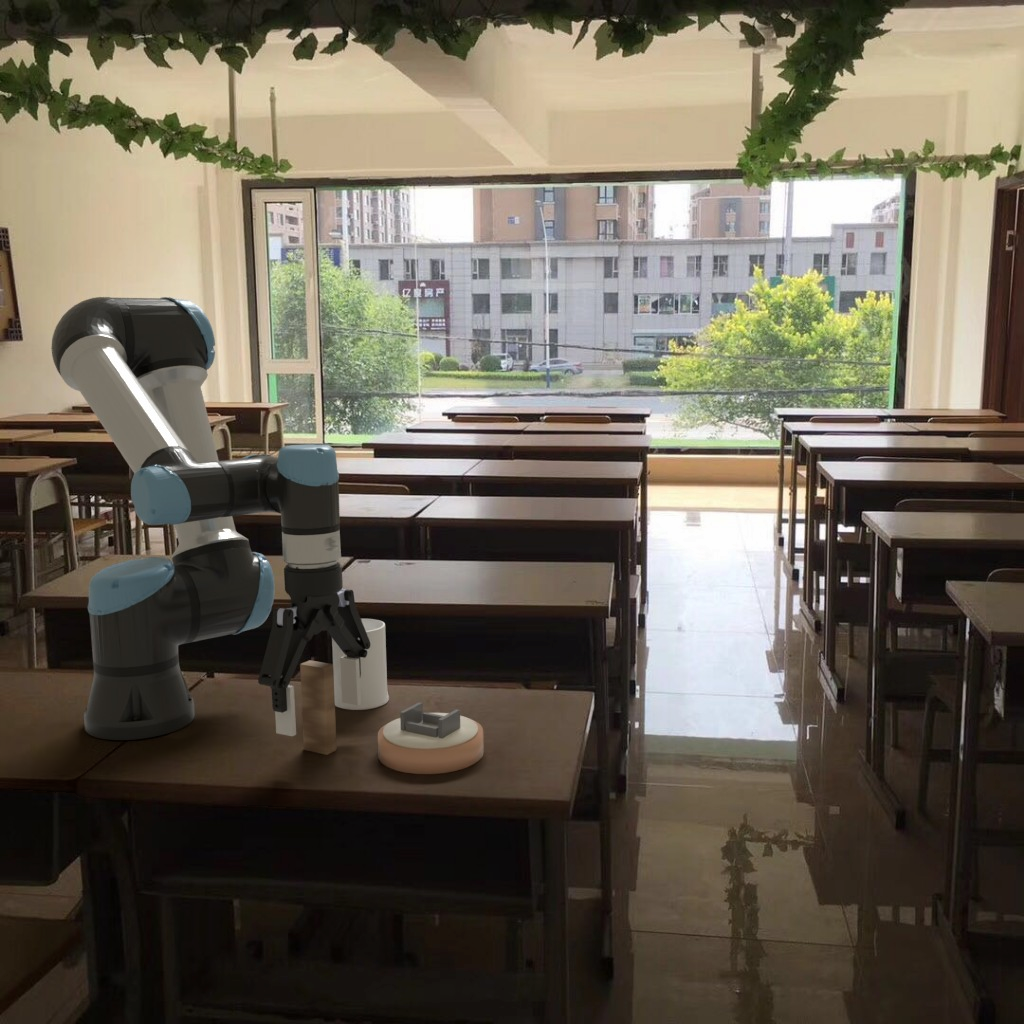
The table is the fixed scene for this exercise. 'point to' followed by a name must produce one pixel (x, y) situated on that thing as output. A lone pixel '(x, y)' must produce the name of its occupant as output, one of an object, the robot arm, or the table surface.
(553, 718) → the table surface
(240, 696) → the table surface
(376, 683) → the mug
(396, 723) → the peach disc
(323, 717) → the tall wooden post
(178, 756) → the table surface
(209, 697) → the table surface
